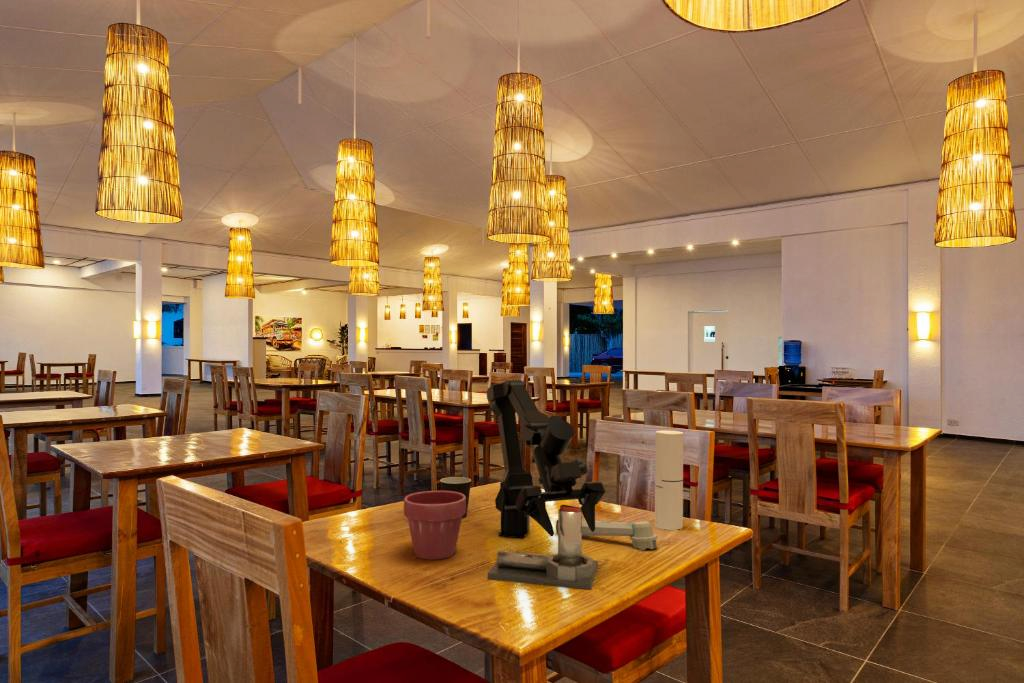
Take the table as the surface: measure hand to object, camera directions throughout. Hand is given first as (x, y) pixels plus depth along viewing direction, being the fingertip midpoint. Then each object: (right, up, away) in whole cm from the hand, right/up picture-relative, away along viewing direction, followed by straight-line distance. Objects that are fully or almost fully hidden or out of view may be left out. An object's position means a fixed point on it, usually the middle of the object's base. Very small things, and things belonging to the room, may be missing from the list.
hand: (573, 533), depth 122 cm
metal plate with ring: (-6, -10, +4) cm, 12 cm away
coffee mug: (-28, -10, +48) cm, 57 cm away
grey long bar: (+11, -11, +26) cm, 30 cm away
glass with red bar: (-1, -8, +1) cm, 9 cm away
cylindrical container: (+29, -11, +39) cm, 50 cm away
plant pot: (-30, -10, +16) cm, 35 cm away
